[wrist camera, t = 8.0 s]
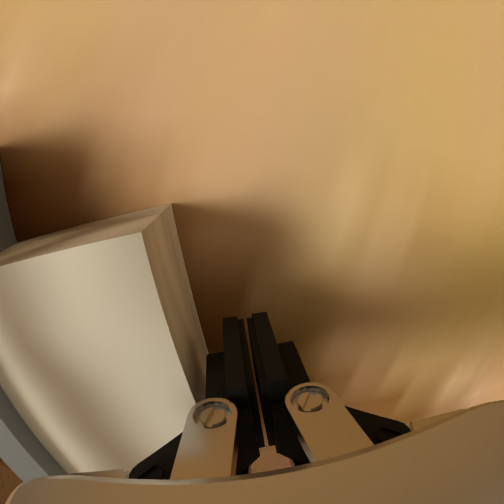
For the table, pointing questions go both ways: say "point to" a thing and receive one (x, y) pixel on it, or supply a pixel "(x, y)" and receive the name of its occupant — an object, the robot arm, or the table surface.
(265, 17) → the table surface
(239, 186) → the table surface
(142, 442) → the off-white block
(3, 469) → the wooden block
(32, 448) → the curved slate gray block
